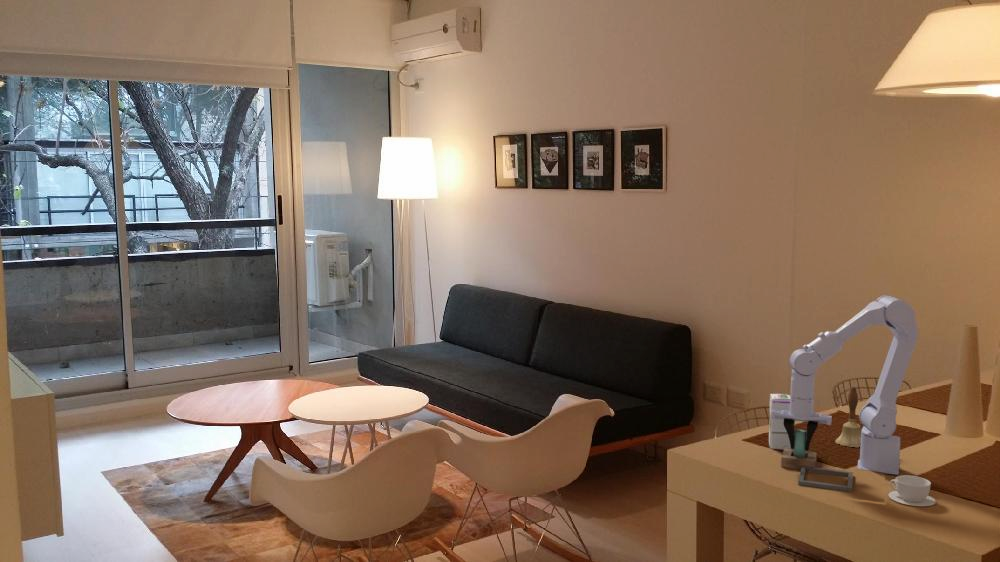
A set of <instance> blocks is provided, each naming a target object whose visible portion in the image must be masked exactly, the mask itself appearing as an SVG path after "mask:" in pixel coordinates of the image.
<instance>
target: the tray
mask: <svg viewBox="0 0 1000 562" xmlns="http://www.w3.org/2000/svg"><path fill="white" fill-rule="evenodd" d="M806 472H807V473H808V472H809V473H815V474H816V473H817V474H823V475H824V474H825V475H830V476H831V475H832V476H840V477H848V478H847V485H841V484H835V483H827V482H820V481H819V482H818V481H812V480H805V476H806ZM853 479H854V472H853V471H846V470H845V471H844V470H838V469H829V468H824V467H823V468H821V467H816V466H815V467H807V466H802V468H801V469H800V473H799V476H798V482H797V483H798V484H797V485H798V486H805V487H812V488H818V489H825V490H826V489H827V490H832V491H833V490H835V491H842V492H849V493H852V492H853Z"/></svg>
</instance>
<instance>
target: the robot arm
mask: <svg viewBox="0 0 1000 562" xmlns="http://www.w3.org/2000/svg"><path fill="white" fill-rule="evenodd" d="M916 313H917V312H916V311H915V310H914V308H913V307H912V306H911V304H910V303H909V302H907V301H906V300H903V299H900V298H899V299H898V298H896V297H894V296H893V295H889V294H884V295H881V296H879V297H878V298H876V300H873V301H871V302H870V303H868V304H867V305H866V306H865V307H864V308H863V309H862V310H861V311H859V312H858V313H857V314H855V315H854V316H853V317H852V318H851V319H849V320H848V321H846V322H845V323H844V324H843V325H841V326H840V327H839V328H837V329H836V330H835V331H830V330H826V331H824V332H822V331H821V332H819V333H817V334H818V335H817V336H818V337H816V338H815V339H813V341H810V343H808V344H807V343H806V344H804V345H802V348H799V349H796V350H793V352H792V353H791V355H790V356H789V358H788V365H789V366H790V368H791V378H790V391H789V392H790V393H789V395H790V411H788V410H772V412H771V419H784V423H783V424H784V427H785V429H786V431H787V434H788V437H789V441H790V447H791V449H794V430H795V424H796V422H795V421H797V422H803V423H807V424H806V431H807V436H806V451H810V445H811V441H812V439H813V436H814V434H815V432H816V430H817V429H818V427H819V424H823V425H824V424H825V425H828V426H831V425H832V421H833V420H832V415H828V414H821V413H817V412H814V406H815V405H814V404H815V403H814V402H815V401H814V399H815V381H816V380H815V373H817V372H818V370H819V366H820V365H821V364H823V363H824V362H826V361H827V360H829V359H830V358H832V357H833V356H834V355H836V354H838V353H839V352H840V351H841V350H842V349H843V345H844V342H846V341H847V340H849V339H851V338H852V337H854V336H855V335H857V334H859V333H860V332H862V331H863V330H865V329H866V328H868V327H870V326H872V325H873V326H881V325H882V326H885V325H887V327H888V329H889V330H890V332H891V333H892V335H893V338H892V339H891V340H892V341H891V344H890V346H889V349H888V352H887V355H886V358H885V361H884V364H883V367H882V370H881V372H880V376H879V378H878V381H877V384H876V388H875V389H874V390H875V391H874V393H873V394H872V395H871V396H869V398H868V399H867V402H866V404H865V405H864V406H863V407H862V408H861V409H860V410H859V415H858V419H859V423H860V424H861V425H862V427H861V447H860V448H859V449H860V450H859V459H858V460H857V469H858V470H861V471H862V470H863V471H868V472H869V471H870V472H876V473H877V472H880V473H883V474H888V475H896V476H899V474H900V471H899V470H900V466H901V458H900V456H901V455H900V453H901V436H897V435H893V434H894V433H895V431H896V429H897V420H896V419H897V415H898V409H897V402H896V401H897V399H898V396H899V393H900V389H901V387H902V384H903V382H904V378H905V375H906V373H907V370H908V367H909V364H910V362H911V358H912V356H913V353H914V349H915V347H916V344H917V341H918V338H919V331H918V326H917V320H916Z"/></svg>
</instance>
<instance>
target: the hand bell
mask: <svg viewBox="0 0 1000 562" xmlns="http://www.w3.org/2000/svg"><path fill="white" fill-rule="evenodd" d="M858 402H859V394H858V392H857V387H855V386H851V387H850V389H849V392H848V395H847V404H848V409H849V413H848V421H847V422H845V423H843V425H842V431H841V434H840V435H839V437H837V438H836V439H835V441H834V443H835V444H836V445H838V444H840V445H839V446H841V445H842V446H841V447H844V446H847V447H846V448H851V447H855V448H856V449H860V448H859V447H861V430H862V427H861V425H860V424H859V423H857V422H856V409H857V406H858ZM855 448H854V449H855Z"/></svg>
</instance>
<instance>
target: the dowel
mask: <svg viewBox="0 0 1000 562" xmlns="http://www.w3.org/2000/svg"><path fill="white" fill-rule="evenodd" d="M806 440H807V430H804V429H794V450H793V456H795V457H803V458H806Z"/></svg>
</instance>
